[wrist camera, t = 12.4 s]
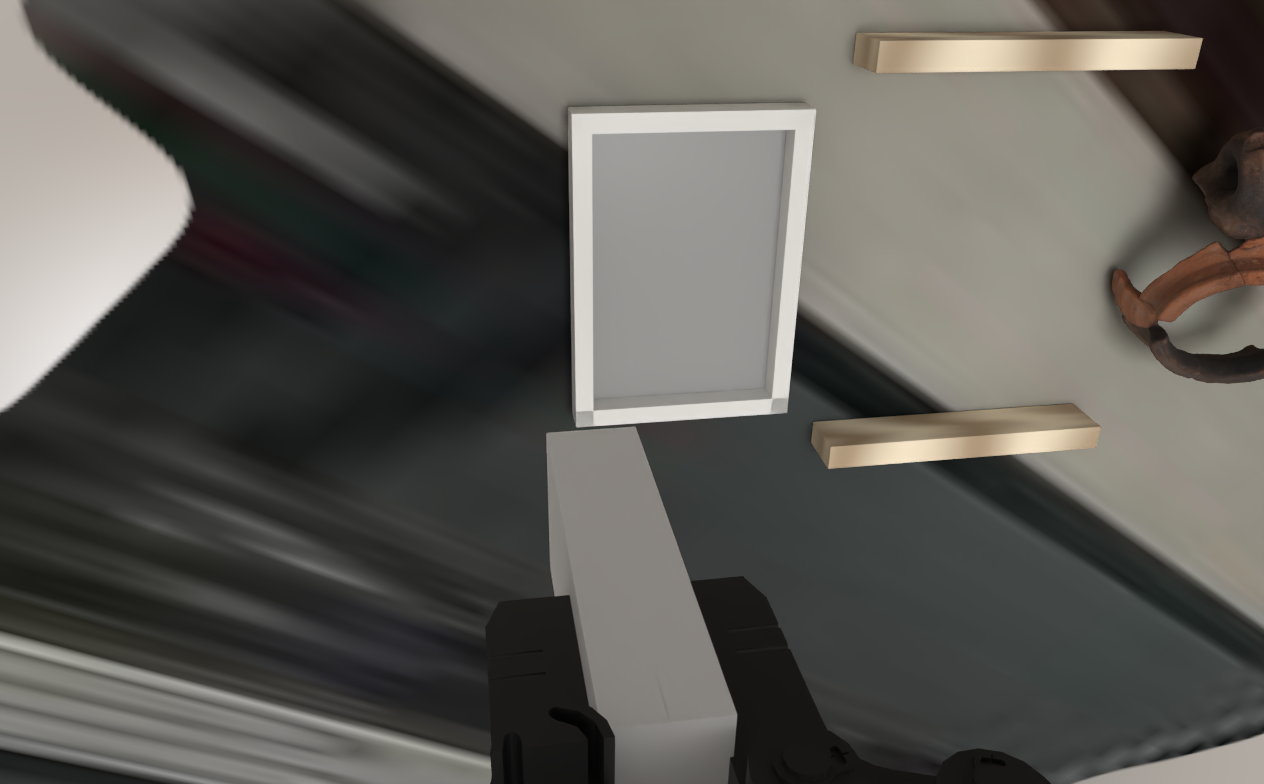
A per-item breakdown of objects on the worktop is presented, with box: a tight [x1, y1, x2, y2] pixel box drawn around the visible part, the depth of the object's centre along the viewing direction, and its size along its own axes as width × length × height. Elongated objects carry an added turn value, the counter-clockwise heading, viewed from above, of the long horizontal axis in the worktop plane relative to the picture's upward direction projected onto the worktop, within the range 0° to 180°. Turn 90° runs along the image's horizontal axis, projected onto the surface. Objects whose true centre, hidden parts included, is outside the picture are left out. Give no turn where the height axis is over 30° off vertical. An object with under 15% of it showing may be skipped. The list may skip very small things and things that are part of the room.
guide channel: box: [811, 31, 1203, 469], centre depth 45 cm, size 14×19×2 cm
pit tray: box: [568, 102, 816, 427], centre depth 43 cm, size 10×14×2 cm
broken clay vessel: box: [1112, 127, 1264, 384], centre depth 45 cm, size 12×10×8 cm
